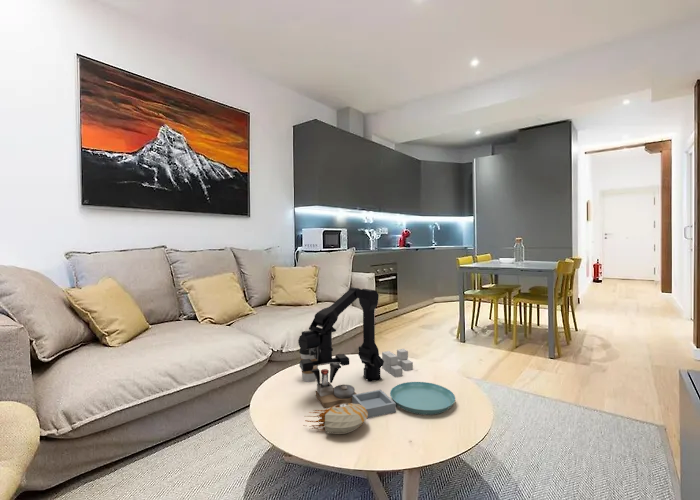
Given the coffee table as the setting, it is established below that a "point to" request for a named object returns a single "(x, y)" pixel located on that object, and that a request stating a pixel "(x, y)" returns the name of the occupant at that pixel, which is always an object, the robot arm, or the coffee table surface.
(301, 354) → the coffee cup
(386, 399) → the tray
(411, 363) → the puzzle cube
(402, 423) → the coffee table surface
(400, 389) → the teal round plate
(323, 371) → the lock pin
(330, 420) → the nautilus
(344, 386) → the pulley block
